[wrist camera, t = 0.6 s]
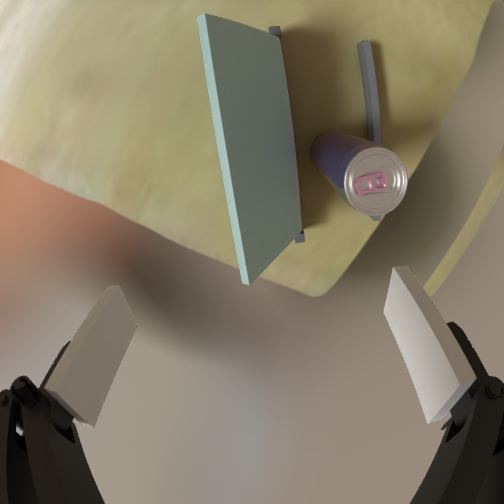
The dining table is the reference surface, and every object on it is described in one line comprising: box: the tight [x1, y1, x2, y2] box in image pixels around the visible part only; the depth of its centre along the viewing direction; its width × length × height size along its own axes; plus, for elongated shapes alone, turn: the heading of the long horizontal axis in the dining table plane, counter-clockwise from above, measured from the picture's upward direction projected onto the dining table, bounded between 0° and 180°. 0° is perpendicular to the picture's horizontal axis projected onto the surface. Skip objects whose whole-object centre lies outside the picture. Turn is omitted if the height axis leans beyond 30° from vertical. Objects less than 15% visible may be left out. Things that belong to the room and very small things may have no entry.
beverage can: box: [311, 131, 408, 216], centre depth 25 cm, size 6×6×15 cm
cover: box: [197, 14, 302, 285], centre depth 24 cm, size 24×13×1 cm
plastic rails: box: [269, 26, 382, 243], centre depth 29 cm, size 27×12×4 cm, turn 8°
